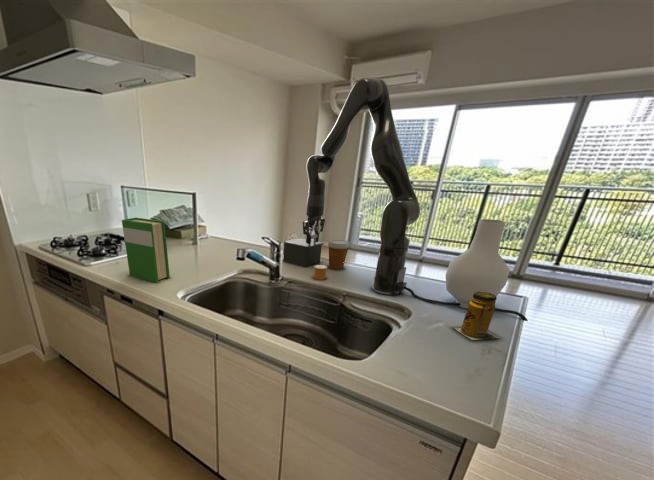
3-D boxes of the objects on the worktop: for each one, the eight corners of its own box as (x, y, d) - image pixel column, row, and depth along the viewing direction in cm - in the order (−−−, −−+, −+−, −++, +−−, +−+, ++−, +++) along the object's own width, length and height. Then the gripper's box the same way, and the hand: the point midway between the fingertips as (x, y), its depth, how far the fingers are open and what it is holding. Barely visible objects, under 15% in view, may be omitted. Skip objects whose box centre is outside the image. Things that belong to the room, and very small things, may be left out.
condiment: (453, 328, 99) (464, 290, 94) (480, 327, 100) (492, 289, 95) (471, 340, 93) (484, 300, 88) (500, 338, 93) (514, 298, 88)
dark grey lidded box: (320, 262, 164) (321, 244, 160) (305, 267, 157) (306, 248, 154) (298, 256, 173) (299, 239, 170) (283, 261, 167) (284, 243, 163)
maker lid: (323, 244, 160) (324, 233, 158) (307, 248, 153) (308, 237, 151) (299, 239, 170) (300, 229, 167) (284, 243, 163) (284, 232, 161)
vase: (498, 319, 105) (531, 227, 93) (437, 308, 112) (461, 223, 100) (493, 301, 117) (522, 219, 105) (439, 293, 125) (460, 215, 113)
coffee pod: (328, 278, 142) (329, 266, 140) (320, 281, 139) (322, 269, 137) (318, 275, 146) (319, 264, 144) (310, 277, 143) (311, 266, 141)
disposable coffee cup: (321, 266, 158) (323, 240, 153) (337, 263, 162) (340, 238, 156) (334, 271, 150) (338, 245, 145) (351, 268, 154) (354, 242, 149)
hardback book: (169, 278, 146) (164, 221, 135) (156, 282, 140) (150, 223, 130) (142, 271, 155) (135, 217, 145) (129, 275, 150) (121, 219, 139)
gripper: (312, 206, 143) (309, 246, 150) (332, 203, 152) (328, 241, 159) (298, 205, 148) (296, 243, 156) (318, 202, 157) (315, 239, 164)
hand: (312, 242), depth 157 cm, fingers closed on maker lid, 5 cm apart
